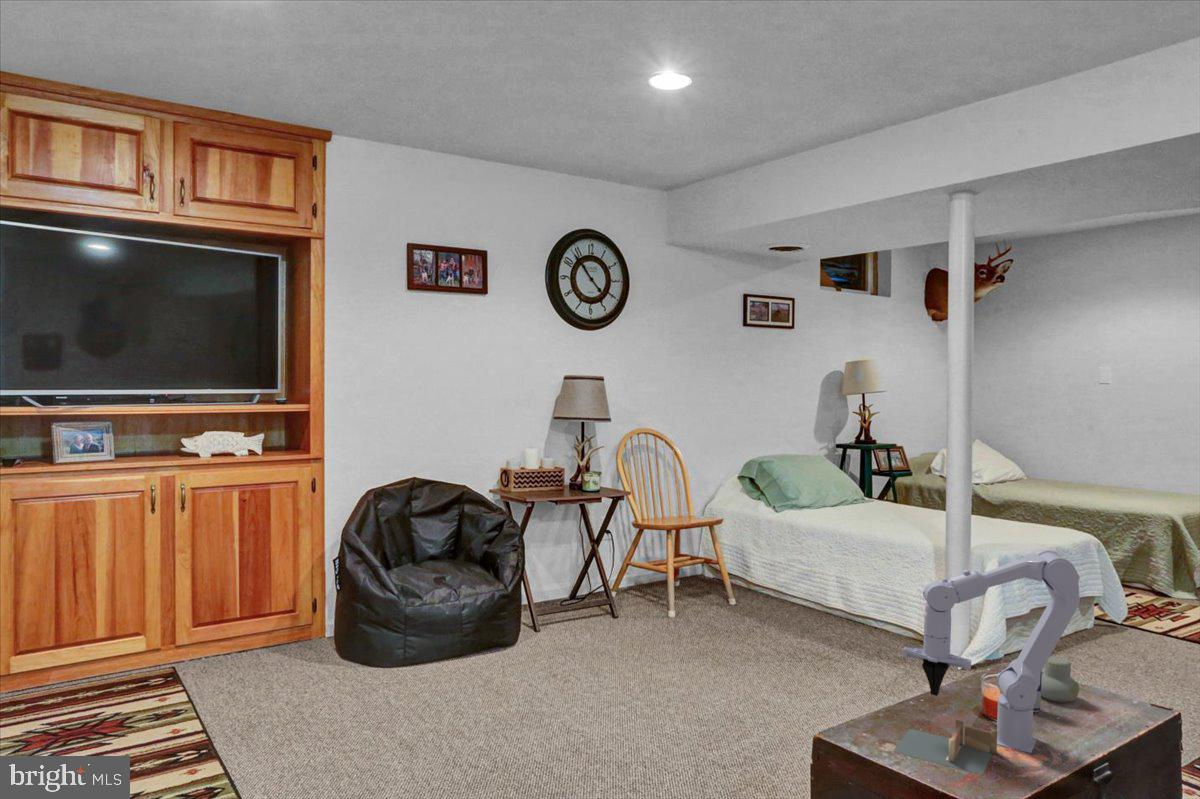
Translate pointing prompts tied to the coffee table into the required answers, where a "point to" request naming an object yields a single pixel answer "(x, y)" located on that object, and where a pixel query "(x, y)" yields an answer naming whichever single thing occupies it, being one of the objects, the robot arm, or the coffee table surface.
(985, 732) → the fence frame
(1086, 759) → the coffee table surface
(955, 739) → the fence panel
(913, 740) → the card
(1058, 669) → the grey l-shaped piece
